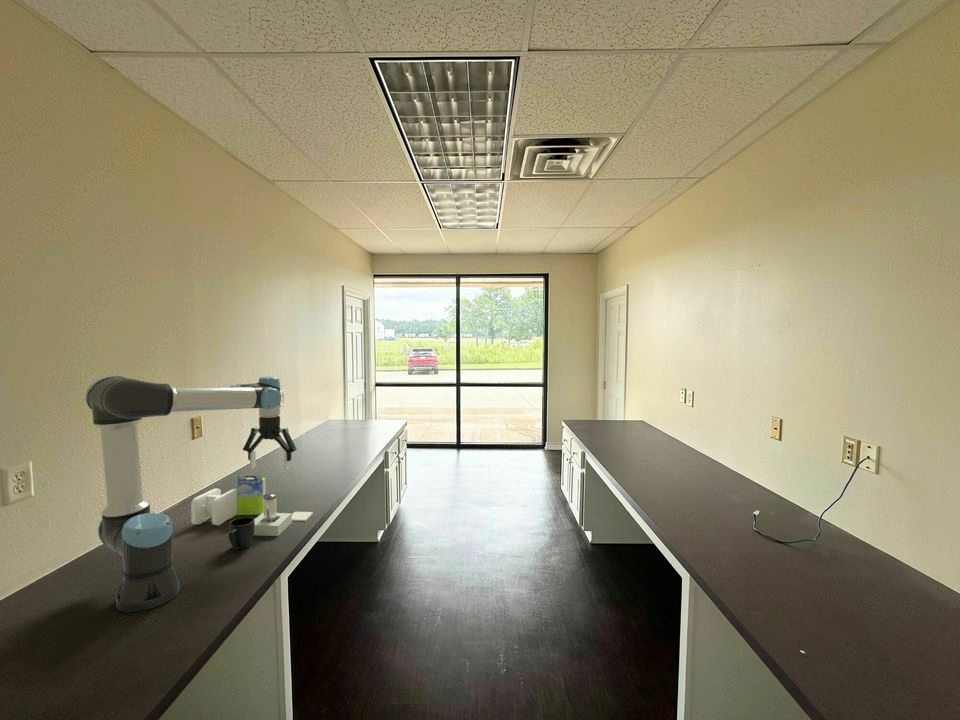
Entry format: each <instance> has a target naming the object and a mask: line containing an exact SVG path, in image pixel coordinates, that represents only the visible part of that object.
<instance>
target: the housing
mask: <svg viewBox="0 0 960 720" xmlns="http://www.w3.org/2000/svg"><path fill="white" fill-rule="evenodd" d="M292 514H293V513H288V512H277V520H276V521H275V522H264V513H262V514H261V515H257V517H255V518H254V520H255V528H254V535H253V536H263V537H264V536H265V537H267V536H271V537H272V536H273V537H278V536H280V535H281V534H282V533H283V532H284V531H285V530H287V528H288V527H290V525H292V523H293V521H292Z"/></svg>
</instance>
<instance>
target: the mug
mask: <svg viewBox="0 0 960 720" xmlns="http://www.w3.org/2000/svg"><path fill="white" fill-rule="evenodd" d="M254 519H255V518H253V517H252V516H241V517H237V518H235V519H232V520H231V521H229V524H228V528H229V529H228V530H229V531H228V540H229V541H228V542H229V543H230V545H231V546H232V548H233V549H234V550H235V551H242V550H246V549H248V548H250V547H251V544H252V541H253V537H254V536H255V535H254V528H255V520H254Z"/></svg>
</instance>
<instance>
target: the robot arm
mask: <svg viewBox="0 0 960 720" xmlns="http://www.w3.org/2000/svg"><path fill="white" fill-rule="evenodd" d="M281 402H282V393H281V382H280V378H279V377H277V376H261V377H259V378H258V382H256V383H244V384H243V383H242V384H239V383H238V384H233V385H230V386H172V385H171V384H170V383H155V382H149V381H144V380H139V379H136V378H134V379H133V378H127V377H124V376H121V375H120V376H119V375H116V376H115V375H112V376H105V377H101V378H98V379H97V380H96V381H94V382H92V383H91V384H90V385H89V387H87V389H86V392H85V403H86V404H87V406H88V408H89V409H90V410H91V413H92V414H91V415H92V421H93V422H92V423H93V426H95V427H97V428H99V429H100V435H101V436H100V437H101V447H102V459H103V471H104V480H105V492H106V501H107V503H106V504H107V506H106V507H105V508H103V510H101V520H100V522H99V525H98V527H97V528H98V529H97V534H98V538H99V540H100V542H101V543H102V544H103V545H104V546H105V547H106V548H109V549H111V550H112V551H114V552H116V553H117V554H118V555H120V556H121V557H122V570H123V572H122V573H123V575H122V577H123V578H122V581H121V582H120V583H121V584H120V585H119V588H118V592H117V594H116V597H115V607H116V609H117V610H119V611H120V612H124V613H137V612H144V611H147V610H152V609H155V608H157V607H159V606H162V605H163V604H164V605H165V604H166V603H168V602H170V601H171V600H172V599H174V598H175V597H176V596H178V595H179V592H180V590H181V589H180V588H181V586H180V583H181V582H180V579H179V577H178V575H177V573H176V571H175V569H174V566H173V529H174V527H173V524H172V523H173V522H172V519H171V518H170V516H168V515H167V514H165V513H160V512H157V513H155V512H151V506H150V501H149V500H147V499H146V498H144V496H143V493H144V492H143V482H142V481H143V480H142V470H141V461H140V460H141V458H140V456H141V455H140V447H139V446H140V443H139V436H138V435H139V434H138V424H139V423H140V422H141V421H142V420H143V418H151V417H163V416H164V417H166V416H169V415H170V414H171V413H176V412H177V413H178V412H181V413H182V412H201V411H216V410H217V411H220V410H221V411H222V410H224V411H225V410H240V409H241V410H242V409H245V410H246V409H258V415H259V417H258V426H259V427H257V426H254V427H252V428H251V429H250V434H249V436H248V438H247V440H246V442H245V444H244V446H243V448H242V451H243V452H244V451H245V452H247V459H248V461H250V462H249V464H250V467H249V468H250V470H253V469H255V468H256V467H257V466H256V465H257V463H256V461H257V459H256V454H257V453H256V450H255V449H256V448H257V447H258V446H259V445H260V443H261V442H262V441H263V440H270V441H271V440H274V441H275V442H277V444H278V445H279V446H280V447H281V448H282V449H283V451H284V452H285V453H284V455H283V456H284V460H283V461H284V462H283V464H284V465H283V466H284V468H283V469H284V471H287V470H288V469H290V461H292V453H293V452H295V451H297V447H296V445H295V443H294V441H293V439H292V437H291V434H290V433H289V428H288V427H284V428H281V426H280V425H281V416H280V414H281ZM257 433H259V436H258V437H257V439H256V440H255V441H254V439H255V437H256V435H257ZM280 433H281V434H282V435H283V437H282V436H281V434H280ZM283 438H284V439H283ZM252 443H253V444H252Z"/></svg>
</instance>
